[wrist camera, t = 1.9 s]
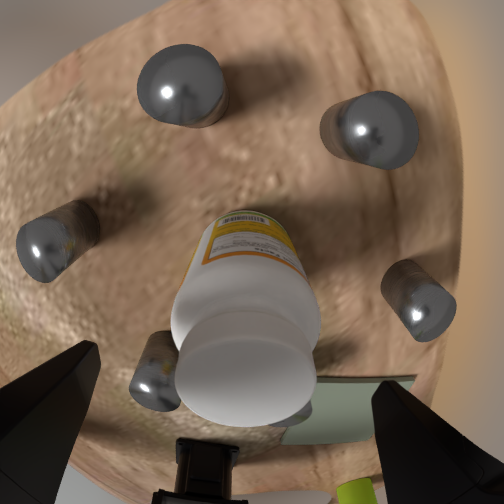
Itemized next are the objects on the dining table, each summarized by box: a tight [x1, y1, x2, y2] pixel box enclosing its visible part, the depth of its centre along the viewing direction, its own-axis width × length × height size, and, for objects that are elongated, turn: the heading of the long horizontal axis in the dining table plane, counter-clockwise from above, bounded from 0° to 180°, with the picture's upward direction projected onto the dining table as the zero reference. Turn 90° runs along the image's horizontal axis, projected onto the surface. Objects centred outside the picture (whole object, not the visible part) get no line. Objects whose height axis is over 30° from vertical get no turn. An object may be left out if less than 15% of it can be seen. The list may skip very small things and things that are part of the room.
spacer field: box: [16, 44, 456, 427], centre depth 14 cm, size 19×24×4 cm
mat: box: [281, 376, 415, 445], centre depth 22 cm, size 10×10×1 cm
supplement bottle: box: [171, 210, 321, 427], centre depth 12 cm, size 5×5×10 cm
